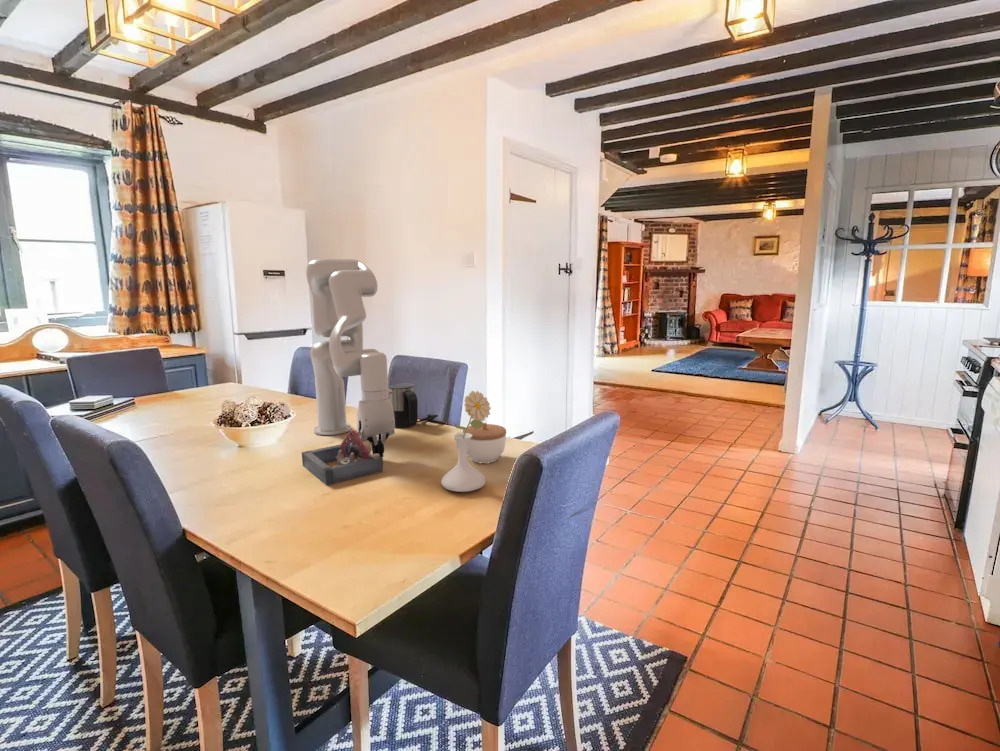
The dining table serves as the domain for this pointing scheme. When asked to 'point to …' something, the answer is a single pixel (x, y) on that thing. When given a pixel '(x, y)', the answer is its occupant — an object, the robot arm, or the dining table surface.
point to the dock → (339, 473)
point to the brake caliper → (354, 449)
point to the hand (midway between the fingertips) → (378, 456)
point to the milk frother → (405, 405)
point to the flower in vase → (463, 472)
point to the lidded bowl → (486, 442)
